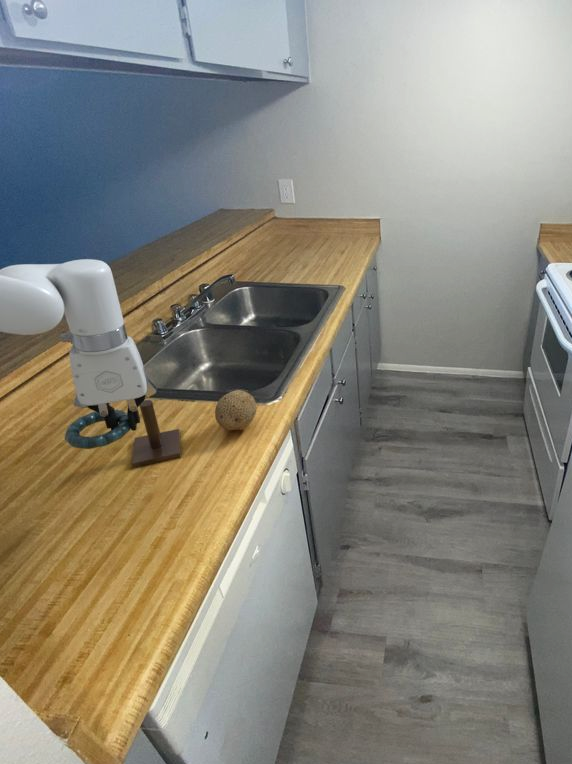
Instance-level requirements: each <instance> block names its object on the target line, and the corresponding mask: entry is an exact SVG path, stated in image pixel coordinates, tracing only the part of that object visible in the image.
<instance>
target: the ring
mask: <svg viewBox="0 0 572 764" xmlns="http://www.w3.org/2000/svg"><path fill="white" fill-rule="evenodd" d="M115 413H116V417H117V421H118V424H119V425H118V426H117V427H115V428H114V429H113V430H111V429H110V430H109V431H106V432H105V433H103V434H98V435H92V436H87V435H86V436H85V435H81V432H82V431H83V430H85V429H86V428H87V427H90V426H92V425H94V424H96V423H100V422H105V419H104V417H103V416H101V415H100V413H98V412H96V411H92V412H90V413H87V414H85V415H82V416H80V417H78V418H76V419H75V420H74V421H73V422H71V423H70V424H69V425H67V428H66V430H65V433H64V440H65V442H67V443H68V444H69V445H70V446H71V447H72V448H75V449H84V450H91V449H96V448H97V449H98V448H101V447H107V446H109V445H110V444H112V443H115V442H117V441H119V440H121V439H122V438H123V437H124V436H126V435H127V434H128V433H129V431H131V427H130V423H129V419H128V415H127V412H126V411H124V410H122V409H121V410H120V409H115Z"/></svg>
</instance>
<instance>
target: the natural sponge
mask: <svg viewBox="0 0 572 764" xmlns="http://www.w3.org/2000/svg"><path fill="white" fill-rule="evenodd" d="M257 408H258V407H257V403H256V399H255V398H254V396H253V395H252V394H250V393H249V392H247V391H244V390H240V389H236V390H233V391H232V390H231V391H229V392H228V393H226V394H225V395H223V396H222V397H221V398H220V399H218V401H217V403H216V405H215V409H214V417H215V421H216V423H217V424H218V425H219V426H220V427H221V428H222V429H224V430H226V431H233V430H236V431H241V430H245V429H247V428H248V427H249V426H250V424H251V423H252V422H253V420H254V418H255V417H256V413H257Z"/></svg>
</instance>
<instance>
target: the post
mask: <svg viewBox="0 0 572 764" xmlns="http://www.w3.org/2000/svg"><path fill="white" fill-rule="evenodd" d="M139 410H140V412H141V413H140V414H141V416H142V421H143V425H144V428H145V432H146V435H142V436H137V437H134V441H133V451H132V462H131V464H132V467H133V468H139V467H142V466H148V465H151V464H156V463H161V462H165V461H170V460H174V459H179V458H182V453H181V452H182V451H181V432H180V429H179V428H176V429H171V430H167V431H162V432H161V430H160V427H159V422H158V419H157V415H156V411H155V407H154V403H153V400H150V399H145V400H144V401H143V402H142V403H141V404H140V405H139Z"/></svg>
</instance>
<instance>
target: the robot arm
mask: <svg viewBox="0 0 572 764" xmlns="http://www.w3.org/2000/svg"><path fill="white" fill-rule="evenodd" d="M64 316H65V319H66V323H67V326H68V329H69V330H68V332H65V333H60V337H59V338H60V341H61V343H70V345H72V346H71V348H70V349H69V365H70V371H71V376H72V381H73V385H74V391H75V397H74V399H73V400H74V401H73V403H72V404H73V406H74V407H77V408H83V409H84V408H85V409H87V408H88V409H89V410H91V411H92V412H95V411H96V412H98V413H100V415H101V416H103V417H104V419H105V421H104V422H105V427H106V429H109V430H110V431H111V430H113V429H114V428H115V427H117V426H118V425H119V422H118V421H117V417H116V413H115V410H116V409H115V408H114V407H113V406H111V405H110V403H116V402H117V403H118V402H123V401H126V404H127V410H126V413H127V415H128V419H129V423H130V427H131V429H130V431H132V432H134V431H137V428H138V427H137V426H138V424H140V423H141V416H140V413H139V409H138V408H140V406H139V405H140V404H141V403H142V402H143V401H145V400H147V399H148V398H150V397H151V396H153V395H155V394H157V390H158V389H157V386H156V385H155V384H154V383H153V382H152V381H151V380H150V378H148V376H147V372H146V368H145V366H144V363H143V360H142V357H141V354H140V352H139V350H138V347H137V345H136V343H135V341H134V339H133V337H131V336H130V335H129V336H128V333H127V329H126V324H125V321H124V316H123V313H122V307H121V304H120V300H119V296H118V291H117V288H116V283H115V280H114V274H113V272H112V269H111V267H110V266H109V264H108V263H106V262H105V261H103V260H99V259H93V258H84V259H73V260H70V261H69V260H68V261H66V262H63V263H45V264H44V263H42V264H40V263H39V264H38V263H27V264H25V263H24V264H23V263H22V264H13V265H8V266H5V267H3V268H1V269H0V333H6V334H11V335H12V334H13V335H20V336H22V335H23V336H25V335H26V336H33V335H40V334H44V333H47V332H49V331H51V330H53V329H54V328H55V327H57V326H58V325H59V324H60V323H61V322H62V319H63V317H64Z"/></svg>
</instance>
